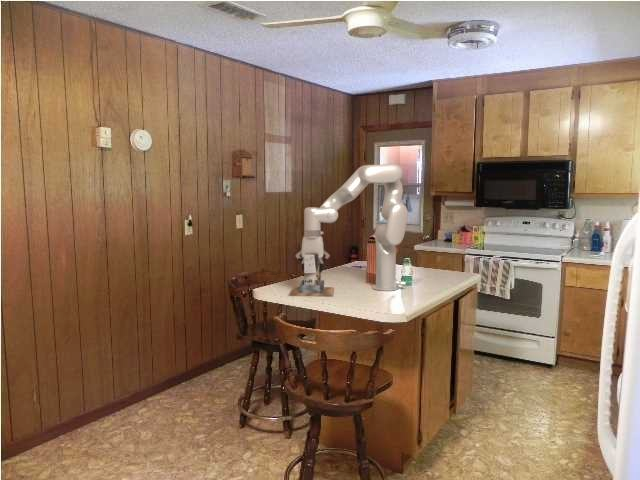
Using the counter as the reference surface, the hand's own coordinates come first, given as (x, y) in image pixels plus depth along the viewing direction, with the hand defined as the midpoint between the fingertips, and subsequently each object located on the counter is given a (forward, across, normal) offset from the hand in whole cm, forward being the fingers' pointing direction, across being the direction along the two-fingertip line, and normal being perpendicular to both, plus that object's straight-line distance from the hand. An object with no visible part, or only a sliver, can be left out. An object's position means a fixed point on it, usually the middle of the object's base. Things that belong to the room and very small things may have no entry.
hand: (312, 271), depth 230 cm
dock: (+10, 0, 0) cm, 10 cm away
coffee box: (+8, 0, 0) cm, 8 cm away
